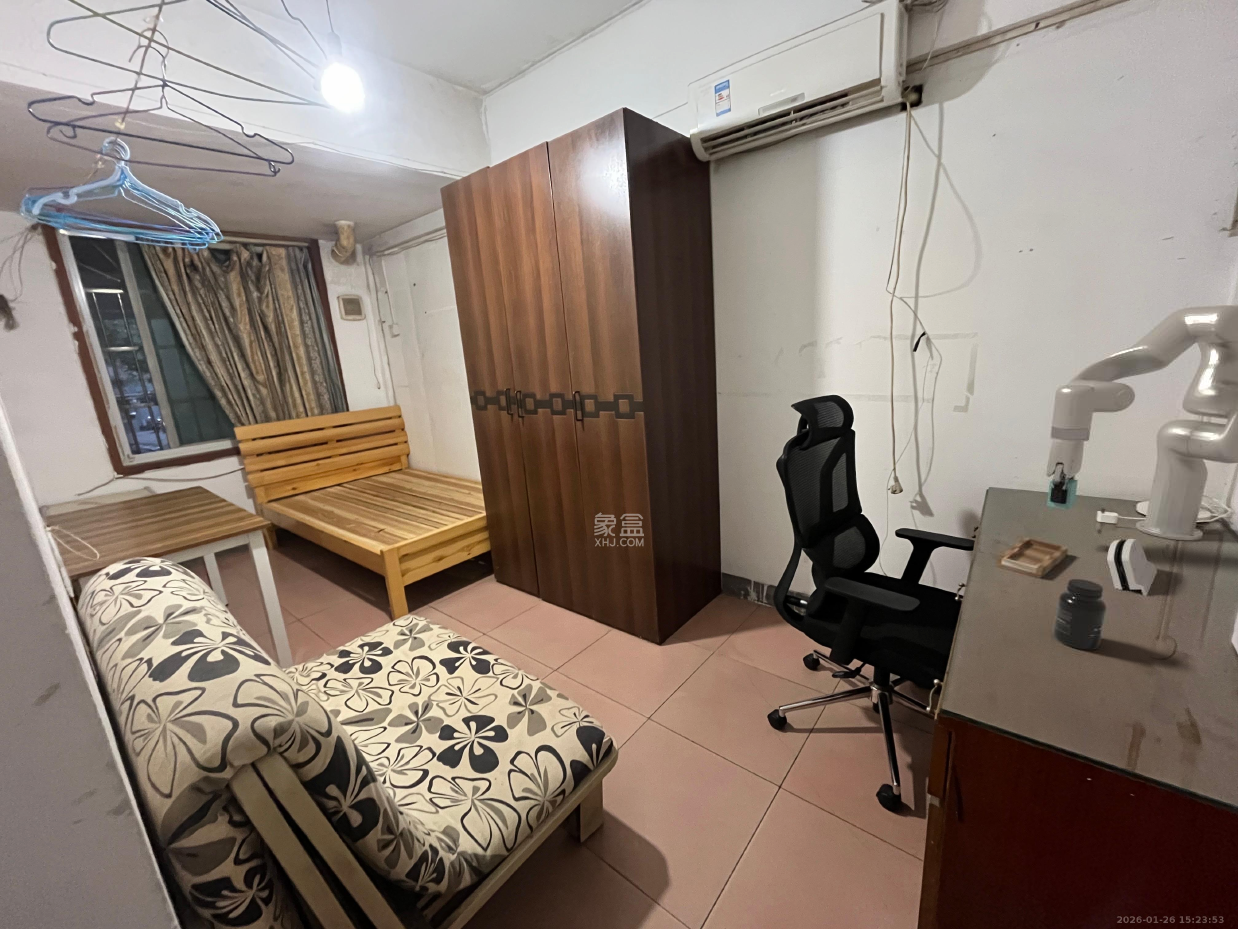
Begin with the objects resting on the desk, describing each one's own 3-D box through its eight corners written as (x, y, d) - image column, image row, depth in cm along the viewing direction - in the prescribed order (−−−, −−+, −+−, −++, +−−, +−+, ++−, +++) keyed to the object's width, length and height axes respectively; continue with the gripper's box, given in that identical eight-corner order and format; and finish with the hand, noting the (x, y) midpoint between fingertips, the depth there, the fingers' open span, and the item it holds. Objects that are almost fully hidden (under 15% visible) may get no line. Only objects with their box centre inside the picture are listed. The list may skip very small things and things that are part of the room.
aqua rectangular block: (1052, 501, 137) (1055, 477, 135) (1074, 504, 133) (1077, 479, 132) (1046, 505, 134) (1050, 480, 133) (1068, 509, 131) (1072, 484, 129)
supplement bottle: (1103, 655, 92) (1115, 596, 90) (1055, 645, 96) (1065, 588, 93) (1094, 635, 98) (1105, 580, 95) (1049, 627, 102) (1058, 573, 99)
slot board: (1024, 545, 138) (1025, 537, 137) (1066, 555, 130) (1068, 547, 130) (996, 566, 127) (997, 557, 127) (1040, 578, 120) (1041, 569, 119)
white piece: (1146, 596, 110) (1132, 552, 110) (1116, 595, 114) (1103, 553, 114) (1157, 571, 120) (1144, 531, 120) (1129, 571, 124) (1117, 532, 124)
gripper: (1062, 426, 136) (1054, 489, 141) (1039, 438, 127) (1032, 505, 132) (1099, 428, 130) (1089, 495, 135) (1078, 441, 121) (1068, 512, 126)
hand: (1061, 499), depth 133 cm, fingers closed on aqua rectangular block, 4 cm apart
